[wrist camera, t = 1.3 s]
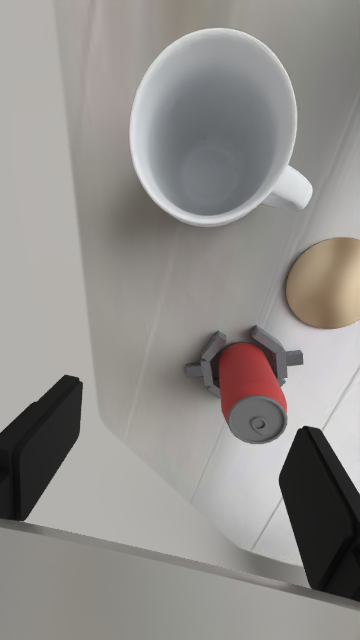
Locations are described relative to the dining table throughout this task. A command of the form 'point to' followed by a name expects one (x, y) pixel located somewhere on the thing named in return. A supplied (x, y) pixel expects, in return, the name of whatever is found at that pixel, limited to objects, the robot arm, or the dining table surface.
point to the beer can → (251, 395)
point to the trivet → (326, 284)
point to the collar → (279, 354)
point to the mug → (216, 130)
